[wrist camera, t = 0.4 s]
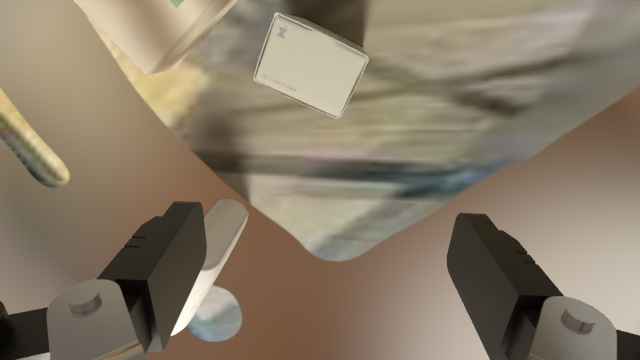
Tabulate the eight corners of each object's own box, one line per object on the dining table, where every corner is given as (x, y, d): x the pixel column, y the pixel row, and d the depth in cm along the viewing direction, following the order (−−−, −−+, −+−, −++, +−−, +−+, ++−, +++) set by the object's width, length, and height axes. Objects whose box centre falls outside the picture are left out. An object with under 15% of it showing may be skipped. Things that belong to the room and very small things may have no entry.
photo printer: (220, 271, 44) (170, 356, 32) (188, 254, 43) (127, 335, 32) (256, 209, 40) (214, 281, 28) (221, 189, 39) (165, 255, 28)
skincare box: (284, 62, 33) (246, 80, 22) (303, 15, 31) (272, 8, 20) (345, 92, 34) (338, 123, 23) (367, 46, 32) (371, 56, 21)
